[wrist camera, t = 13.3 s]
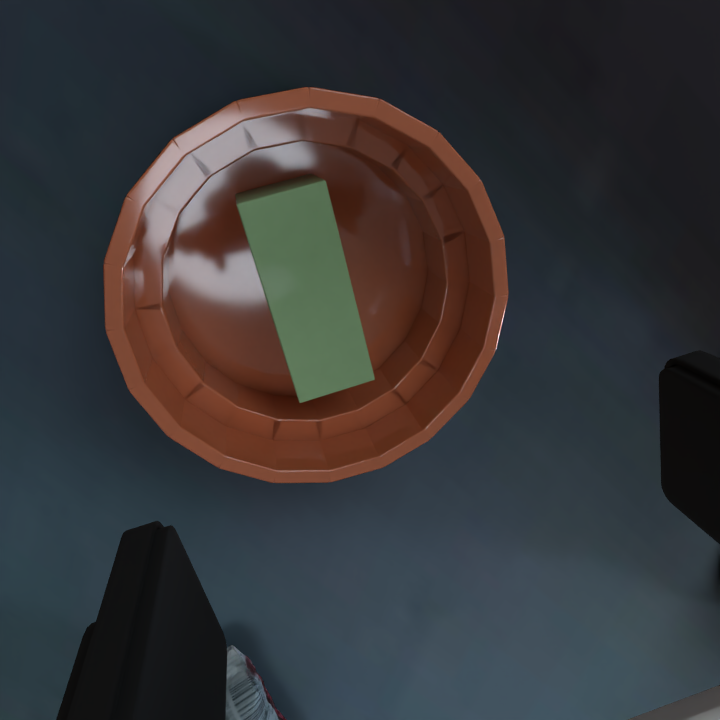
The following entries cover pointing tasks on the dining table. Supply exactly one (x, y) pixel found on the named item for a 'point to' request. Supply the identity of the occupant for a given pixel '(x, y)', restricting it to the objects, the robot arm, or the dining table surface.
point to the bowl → (249, 305)
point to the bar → (306, 284)
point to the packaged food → (247, 691)
